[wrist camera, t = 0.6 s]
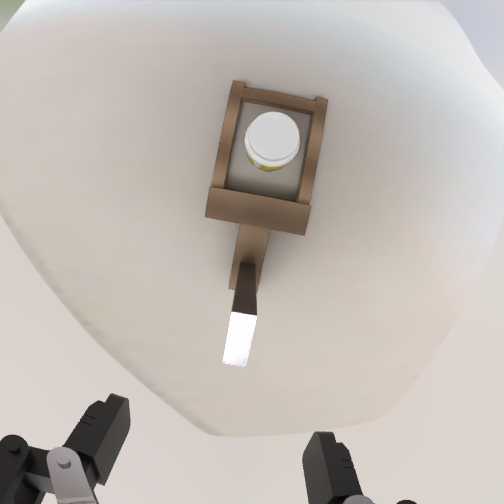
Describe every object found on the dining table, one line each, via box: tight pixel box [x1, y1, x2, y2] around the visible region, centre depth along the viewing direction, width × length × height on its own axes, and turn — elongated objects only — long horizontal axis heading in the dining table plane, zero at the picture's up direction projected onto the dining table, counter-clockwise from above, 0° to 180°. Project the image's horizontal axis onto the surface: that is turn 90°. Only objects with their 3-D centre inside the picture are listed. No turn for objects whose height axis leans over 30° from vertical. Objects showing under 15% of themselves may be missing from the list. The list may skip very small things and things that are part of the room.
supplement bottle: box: [244, 112, 300, 171], centre depth 25 cm, size 5×5×8 cm
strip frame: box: [205, 81, 328, 367], centre depth 23 cm, size 23×10×14 cm, turn 169°
